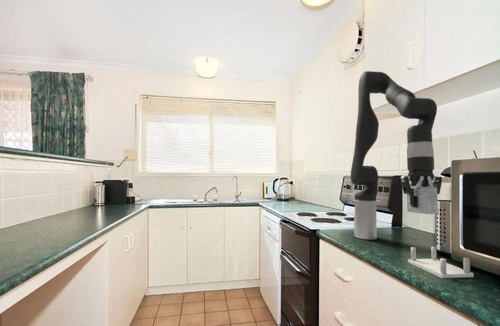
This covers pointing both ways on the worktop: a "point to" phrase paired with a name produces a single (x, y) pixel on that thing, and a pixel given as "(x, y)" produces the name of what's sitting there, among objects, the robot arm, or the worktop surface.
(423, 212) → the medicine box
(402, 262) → the worktop surface
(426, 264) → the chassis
